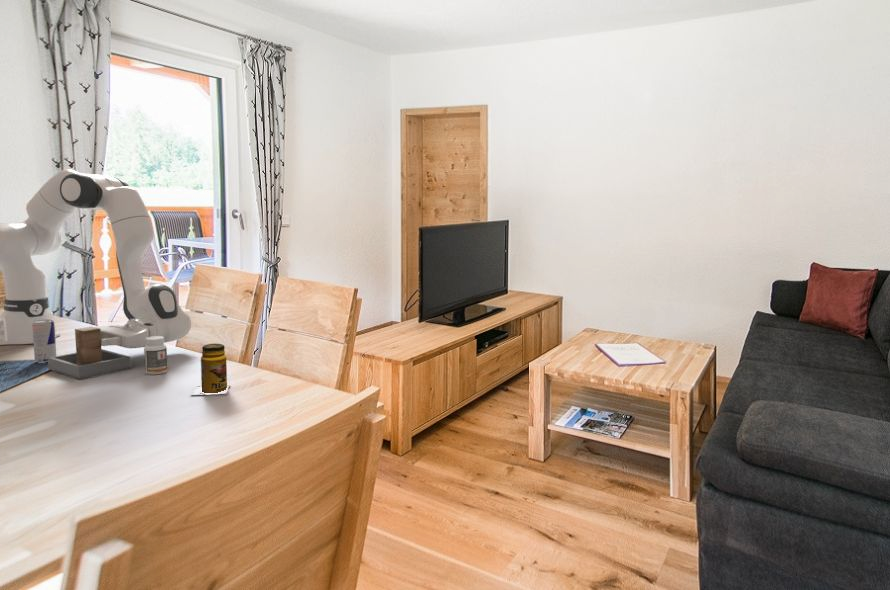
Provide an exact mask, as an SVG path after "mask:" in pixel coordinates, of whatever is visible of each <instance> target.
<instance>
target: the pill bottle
mask: <svg viewBox="0 0 890 590" xmlns="http://www.w3.org/2000/svg"><path fill="white" fill-rule="evenodd" d="M146 344H147V346H145V347H143V348H144V349H143V353H144V354H143V355H144V371H145V373H146V374H147V375H151V376H152V375H153V376H156V375H163V374H165V373H167V372H168V371H169V370H168V369H169V368H168V367H169V365H168V348H167V346H166V344H164V337H163V336H152V337H147V338H146Z"/></svg>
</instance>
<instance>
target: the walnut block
mask: <svg viewBox="0 0 890 590" xmlns="http://www.w3.org/2000/svg"><path fill="white" fill-rule="evenodd" d="M96 327H97V326H86V327H80V328H78V327H77V328H74V334H75V335H74V337H75V339H74V340H75V353H76V355H77V365H80V366H81V365H86V364H91V363H96V362H101V361H102V350H101V349H102V346H101V345H100V342H99V341H100V339H101V332H100V328H96Z"/></svg>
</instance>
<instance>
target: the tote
mask: <svg viewBox="0 0 890 590" xmlns="http://www.w3.org/2000/svg"><path fill="white" fill-rule="evenodd" d="M101 350H102V361H101V362H96V363H91V364H86V365H81V366H80V365H77V355H76V352H71V353H66V354H60V355H56V356H54V357H49V358H48V363H47V365H48V370H49V369H50V370H52V371H51V372H53V371H54V372H53V373H56V374H61V375H63V376H67V377H69V378H72V379H75V380H78V381H82V380H85V379H90V378H93V377H94V378H95V377H98V376H104V375H109V374H112V373H117V372H122V371H125V370H130V369H132V366H131V356H130V355H126V354H121V353H119V352H114V351H112V350H111V351H110V350H106V349H102V348H101ZM50 370H49V371H50Z"/></svg>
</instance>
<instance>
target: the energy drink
mask: <svg viewBox="0 0 890 590" xmlns="http://www.w3.org/2000/svg"><path fill="white" fill-rule="evenodd" d="M55 327H56V325H55V326H54V322H53V320H36V321H33V324H32V330H33V343H32V345H33V356H34V362H35V363H36V362H38V363H37V364H40V363H39V362H48V358H49V357H54V356H57V346H56V345H57V343H56V341H57V340H56V337H55Z"/></svg>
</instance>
